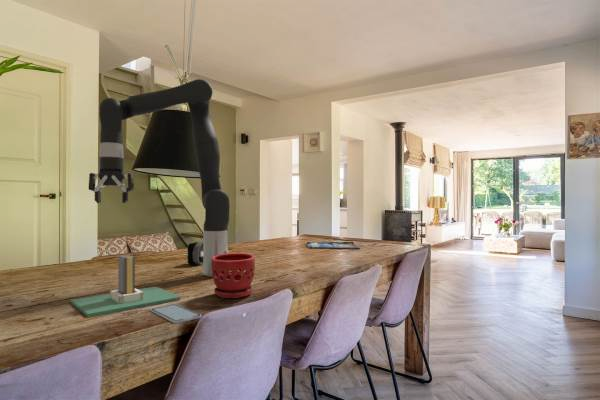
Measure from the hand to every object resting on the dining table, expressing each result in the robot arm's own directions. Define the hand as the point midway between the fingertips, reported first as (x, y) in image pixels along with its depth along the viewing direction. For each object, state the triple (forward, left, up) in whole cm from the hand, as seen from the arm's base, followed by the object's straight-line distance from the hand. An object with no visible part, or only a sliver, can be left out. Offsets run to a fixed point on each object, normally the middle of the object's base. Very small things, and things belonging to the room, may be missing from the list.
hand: (111, 202), depth 130 cm
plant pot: (-43, +23, -28) cm, 56 cm away
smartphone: (-29, +40, -29) cm, 57 cm away
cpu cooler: (-25, -35, -28) cm, 51 cm away
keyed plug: (-13, +26, -27) cm, 40 cm away
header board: (-13, +26, -28) cm, 40 cm away
